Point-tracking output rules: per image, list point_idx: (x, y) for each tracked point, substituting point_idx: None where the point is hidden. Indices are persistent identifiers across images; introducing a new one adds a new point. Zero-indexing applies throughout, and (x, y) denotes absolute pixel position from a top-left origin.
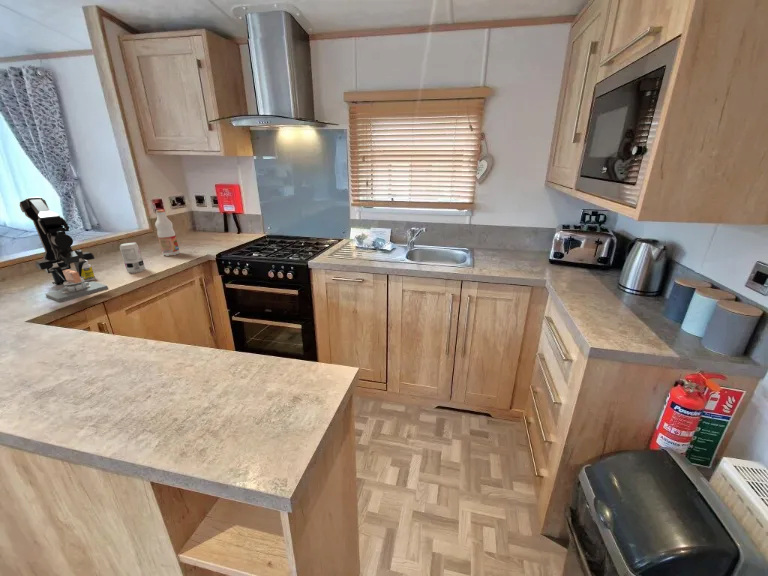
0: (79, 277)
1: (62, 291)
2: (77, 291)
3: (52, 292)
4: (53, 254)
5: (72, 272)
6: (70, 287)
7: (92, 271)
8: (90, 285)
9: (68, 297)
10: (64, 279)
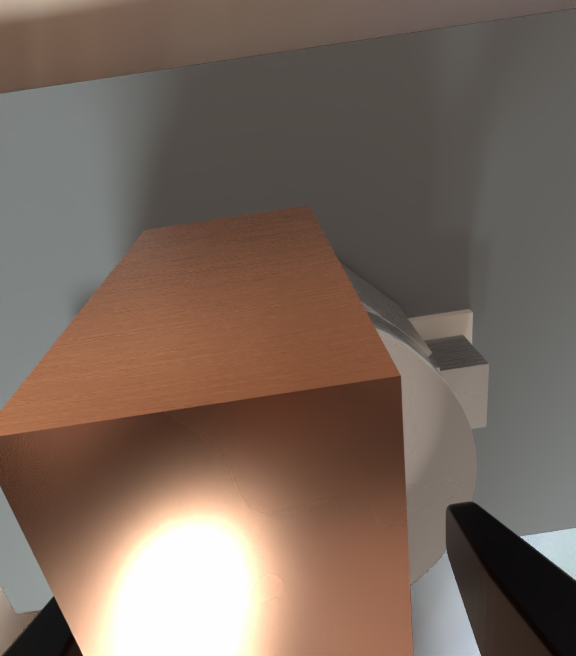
0: (123, 283)
1: None
2: None
3: (527, 503)
4: None
5: (284, 642)
6: (388, 315)
7: None
8: None
9: (498, 21)
10: (497, 521)
